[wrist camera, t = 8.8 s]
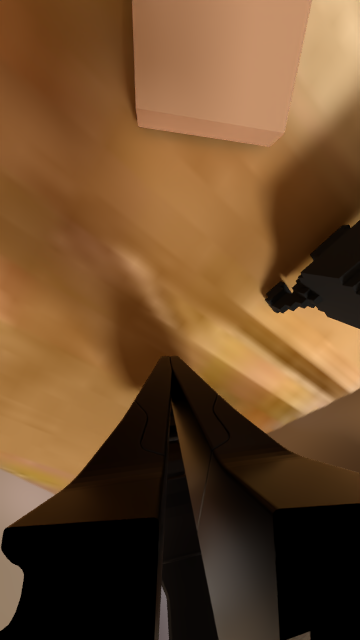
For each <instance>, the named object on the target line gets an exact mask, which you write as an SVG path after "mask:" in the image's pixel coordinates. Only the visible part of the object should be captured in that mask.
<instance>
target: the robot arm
mask: <svg viewBox="0 0 360 640" xmlns="http://www.w3.org/2000/svg"><path fill="white" fill-rule="evenodd" d="M1 549H2V552H3V553H4V555H5V556H6V557H7V559H9V560H10V562H12V563H13V564H15V565H18V566H19V567H20V568H21V569H22V570H23V573H24V581H23V588H22V593H21V598H20V601H19V604H18V607H17V610H16V613H15V615H14V617H13V618H12V620H11V622H10V623H9V625H8V626H6V627H5V628H4V629H3V630H1V631H0V640H158V639H159V618H160V602H161V585H162V587H163V590H164V592H165V595H166V598H167V610H168V629H169V640H360V473H357V472H354V471H351V470H347V469H344V468H340V467H337V466H333V465H330V464H326V463H323V462H319V461H316V460H312V459H309V458H305V457H302V456H300V455H297V454H295V453H293V452H291V451H289V450H287V449H286V448H285V447H283V446H282V445H280V444H279V443H277V442H276V441H275V440H273V439H272V438H271V437H269V436H268V435H267V434H266V433H264V432H263V431H262V430H261V429H259V428H258V427H257V426H255V425H254V424H253V423H252V422H250V421H249V420H248V419H246V418H245V417H244V416H243V415H241V414H240V413H239V412H238V411H237V410H235V409H234V408H233V407H232V406H231V405H230V404H229V403H227V402H226V401H225V400H224V399H223V398H222V397H221V396H220V395H218V393H217V392H216V391H214V390H213V389H212V388H211V387H210V386H209V385H208V384H207V383H206V382H205V381H204V380H203V379H202V378H201V377H200V376H198V375H197V374H196V373H195V372H194V371H193V370H192V369H191V368H190V367H189V366H188V365H187V364H186V363H185V362H184V361H183V360H181V359H180V358H179V357H178V356H170V357H169V356H162V357H161V358H160V360H159V361H158V363H157V364H156V366H155V368H154V369H153V371H152V373H151V374H150V376H149V377H148V379H147V381H146V382H145V384H144V386H143V387H142V389H141V390H140V392H139V394H138V395H137V397H136V399H135V400H134V402H133V403H132V405H131V407H130V408H129V410H128V411H127V413H126V414H125V416H124V417H123V419H122V420H121V422H120V423H119V424H118V426H117V427H116V428H115V430H114V431H113V432H112V433H111V435H110V436H109V437H108V439H107V440H106V441H105V442H104V444H103V445H102V446H101V447H100V449H99V450H98V451H97V452H96V454H95V455H94V456H93V457H92V459H91V460H90V461H89V463H88V464H87V465H86V466H85V467H84V469H83V470H82V471H81V472H80V473H79V475H78V476H77V477H76V478H75V479H74V480H73V481H72V482H71V483H70V484H69V485H67V486H66V487H65V488H64V489H63V490H62V491H60V492H59V493H57V494H56V495H54V496H53V497H51V498H50V499H48V500H47V501H45V502H44V503H43V504H41V505H40V506H38V507H37V508H35V509H34V510H32V511H31V512H29V513H28V514H27V515H25V516H23V517H22V518H20V519H19V520H17V521H16V522H14V523H13V524H11V525H10V526H9V527H7V528H6V529H5V530H4V532H3V538H2V544H1Z"/></svg>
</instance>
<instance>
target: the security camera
mask: <svg viewBox="0 0 360 640" xmlns="http://www.w3.org/2000/svg"><path fill="white" fill-rule="evenodd" d="M310 255H311V257H312V259H313V262H312V263H311V264H310V265H309V266H307V267H306V268H305V269H304V270H303V271H302V272H301V275H300V276H299V277H298V278H299V279H297V280H296V282H297V284H296V285H295V286H293V287H292V289H293V291H294V292H293V293H291V291H290V290H289V289H288V287H287V286H286V284H285V283H284V282H279V283H278V284H277V285H276V286H275V287H273V288H272V289H271V290H270V291H269V292H268V293H267V294H266V295H267V296H268V298H266V299H265V301H266V302H267V303H268V304H269V306H270V307H271V308H272V310H273V311H274V312H276V313H279V312H281V313H284V312H285V311H287V310H288V309H290V310H292V311H294V310H295V309H296V308H298V307H302V308H306V307H307V306H309V307H311V308H314V307H315V306H316V307H317V308H318V310H320V311H323V312H325V314H326V315H327V317H330V318H332V319H335V320H338V321H340V322H343V323H346V324H348V325H351V326H353V327H356V328H359V329H360V220H359V221H358V222H357V223H356V224H355V225H354V226H353V227H351V228H350V225H343V226H341V227H340V228H339V229H338V230H337V231H336V232H335V233H334V234H332V235H331V236H330V237H329V238H328V239H327V240H326V241H325V242H324V243H322V244H321V245H320V246H319V247H318V248H317V249H316V250H315V251H314V252H312V253H311V254H310Z"/></svg>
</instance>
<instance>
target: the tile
mask: <svg viewBox="0 0 360 640" xmlns="http://www.w3.org/2000/svg"><path fill="white" fill-rule="evenodd" d="M311 2H312V0H132V14H133V42H134V70H135V98H136V113H137V120H138V127H144V128H150V129H157V130H163V131H170V132H176V133H183V134H189V135H196V136H203V137H209V138H216V139H222V140H229V141H235V142H242V143H248V144H255V145H261V146H268V147H270V146H271V145H272V144H273V143H274V142H275V141H276V140H277V139H279V138H280V137H281V136H282V135H283V134H284V133H285V128H286V123H287V119H288V114H289V109H290V104H291V99H292V94H293V89H294V85H295V80H296V75H297V70H298V65H299V60H300V56H301V51H302V46H303V41H304V36H305V31H306V26H307V22H308V17H309V12H310V7H311Z"/></svg>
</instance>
